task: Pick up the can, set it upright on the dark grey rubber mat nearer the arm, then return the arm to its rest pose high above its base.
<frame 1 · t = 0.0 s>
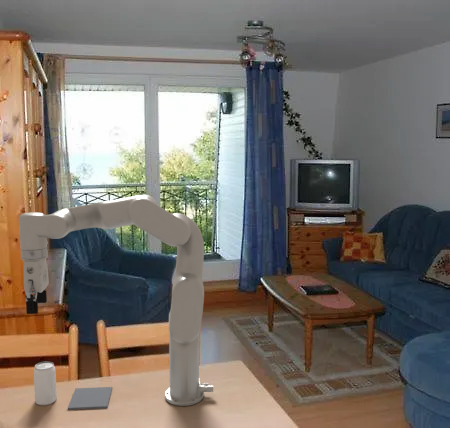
hand: (37, 307, 149), 31 cm above the table, tool pointing down, fingers open, 9 cm apart
mat: (90, 398, 156), on the table
can: (46, 401, 155), on the table
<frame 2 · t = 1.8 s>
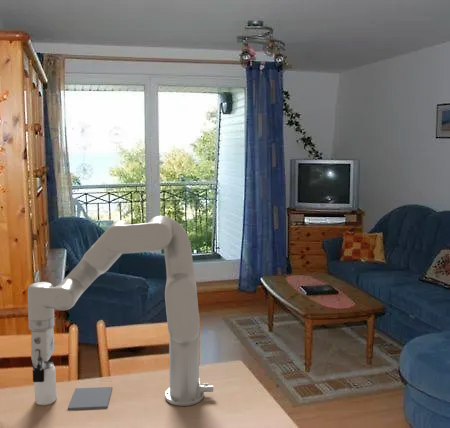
hand: (42, 374, 154), 9 cm above the table, tool pointing down, fingers open, 9 cm apart
nothing on the table moved.
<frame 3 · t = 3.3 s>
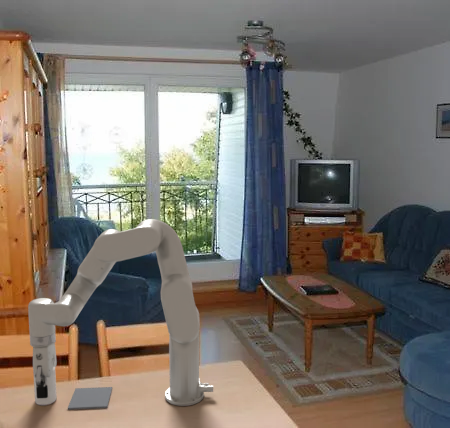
hand: (45, 391, 155), 3 cm above the table, tool pointing down, fingers closed on can, 6 cm apart
can: (45, 401, 155), on the table, touching gripper
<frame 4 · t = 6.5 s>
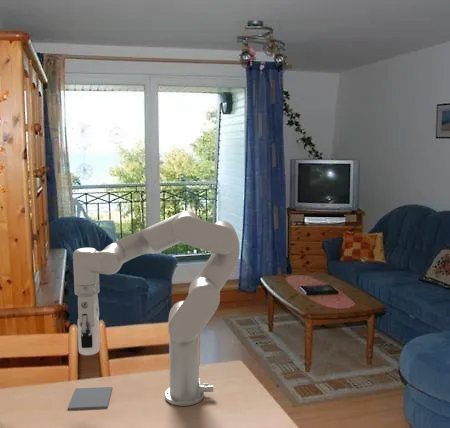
hand: (89, 342, 154), 19 cm above the table, tool pointing down, fingers closed on can, 6 cm apart
can: (89, 352, 154), point 16 cm above the table, touching gripper
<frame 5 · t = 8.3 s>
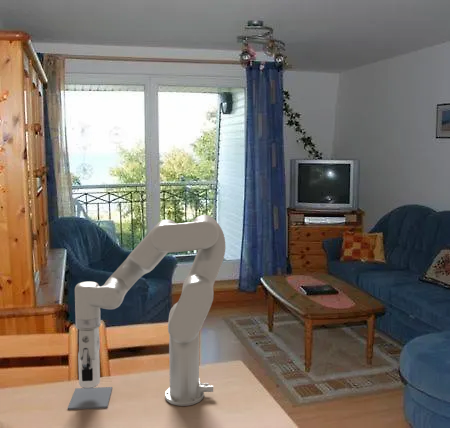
hand: (89, 374, 155), 8 cm above the table, tool pointing down, fingers closed on can, 6 cm apart
can: (89, 384, 156), point 5 cm above the table, touching gripper
when the fingers open (5 cm above the table, at t = 9.9 s): can drops 1 cm, resting on mat.
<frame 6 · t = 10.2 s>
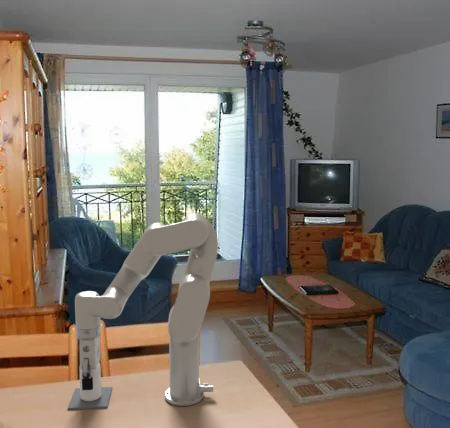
hand: (90, 382, 156), 6 cm above the table, tool pointing down, fingers open, 9 cm apart
can: (91, 397, 156), resting on mat
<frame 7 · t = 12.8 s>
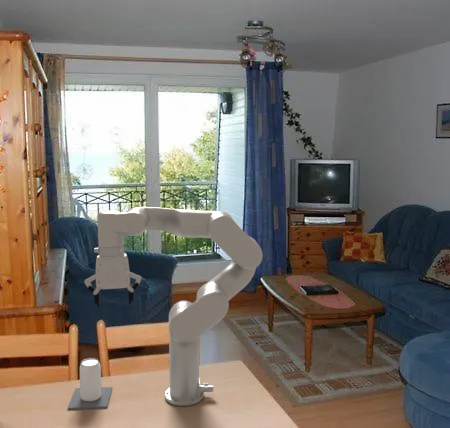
hand: (114, 304, 152), 32 cm above the table, tool pointing down, fingers open, 9 cm apart
nothing on the table moved.
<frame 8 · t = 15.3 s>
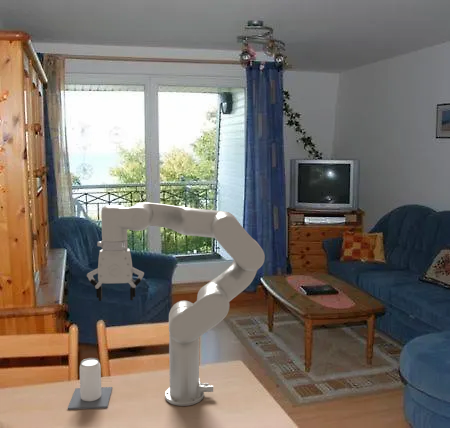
hand: (116, 299, 151), 33 cm above the table, tool pointing down, fingers open, 9 cm apart
nothing on the table moved.
at the end: can inside the target area on the mat (0.1 cm from its centre), point 0.4 cm above the mat's base; can tilted 0°; the gripper is holding nothing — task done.
